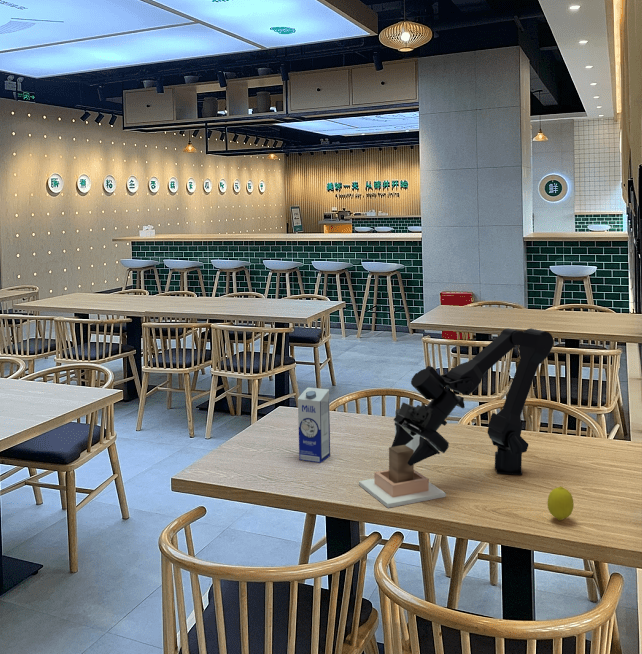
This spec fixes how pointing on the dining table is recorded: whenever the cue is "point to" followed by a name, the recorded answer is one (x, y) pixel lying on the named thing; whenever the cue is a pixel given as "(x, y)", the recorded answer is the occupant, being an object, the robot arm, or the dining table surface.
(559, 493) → the lemon
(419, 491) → the terracotta holder
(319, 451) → the milk carton
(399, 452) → the walnut post
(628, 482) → the dining table surface
